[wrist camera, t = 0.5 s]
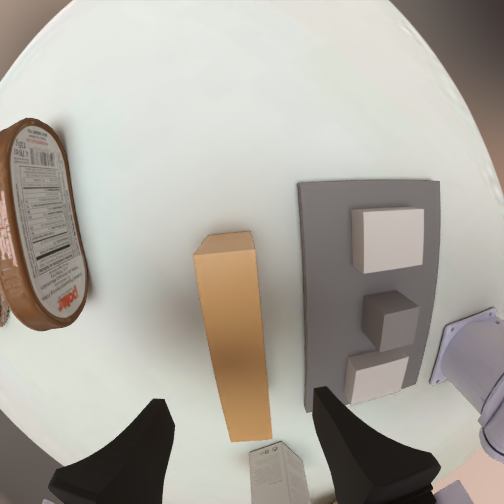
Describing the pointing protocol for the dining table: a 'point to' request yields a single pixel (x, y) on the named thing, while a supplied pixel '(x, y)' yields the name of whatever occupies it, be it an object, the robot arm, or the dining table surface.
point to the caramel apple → (3, 309)
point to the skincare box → (277, 476)
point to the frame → (235, 331)
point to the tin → (39, 229)
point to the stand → (367, 283)
